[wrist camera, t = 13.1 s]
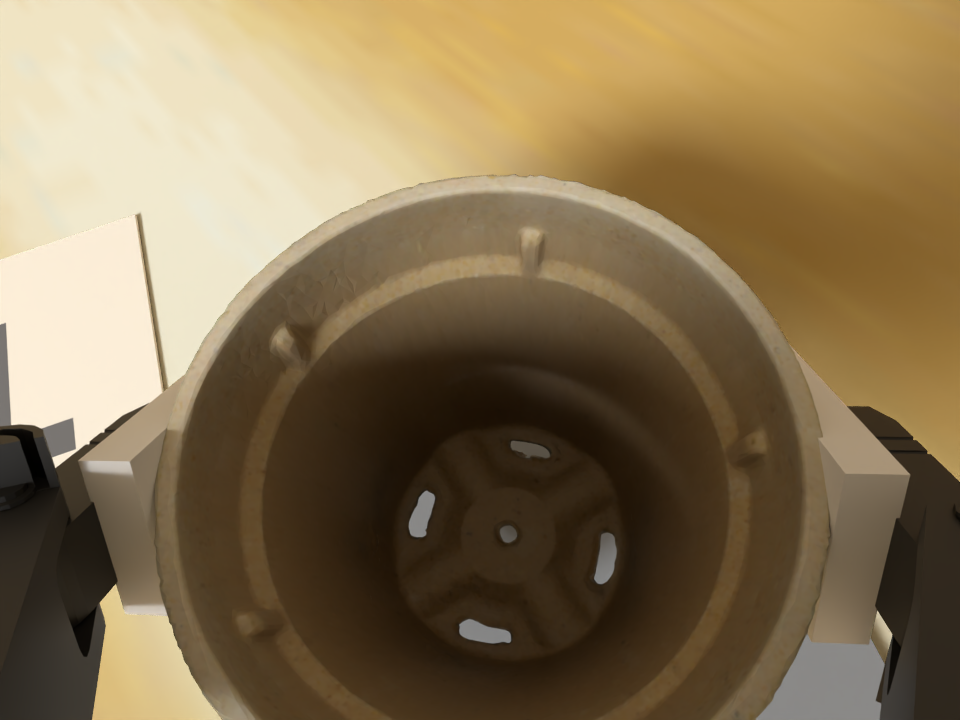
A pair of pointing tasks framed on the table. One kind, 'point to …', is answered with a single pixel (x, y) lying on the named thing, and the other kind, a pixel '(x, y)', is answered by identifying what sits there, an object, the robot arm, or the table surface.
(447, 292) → the flower pot
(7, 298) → the letter tile
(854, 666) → the rubber mat
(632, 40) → the table surface
